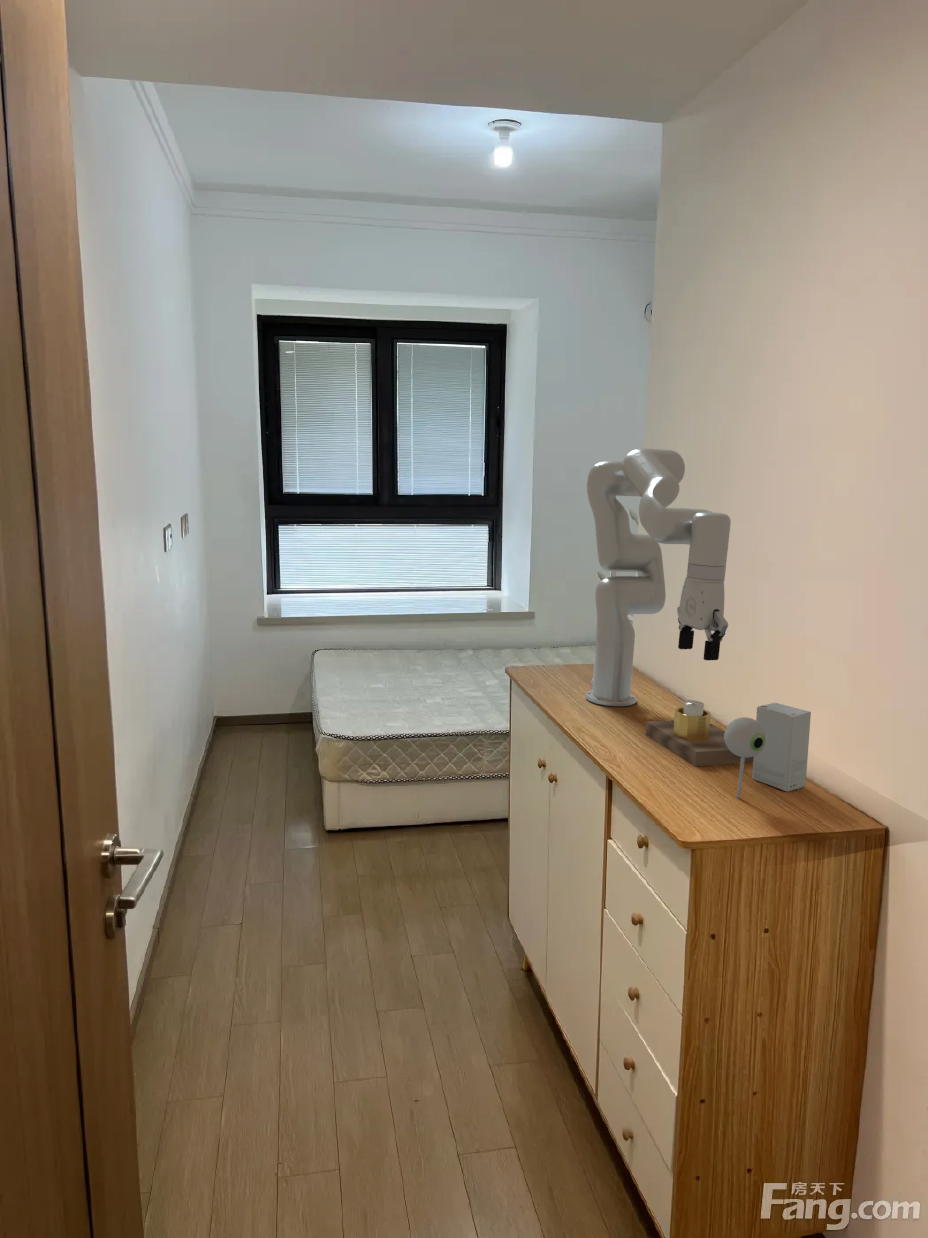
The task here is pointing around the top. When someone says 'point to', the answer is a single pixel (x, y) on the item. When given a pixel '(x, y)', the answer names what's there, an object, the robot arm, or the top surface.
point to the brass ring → (691, 725)
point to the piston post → (693, 708)
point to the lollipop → (744, 741)
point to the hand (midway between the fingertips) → (697, 654)
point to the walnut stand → (694, 745)
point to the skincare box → (783, 746)
